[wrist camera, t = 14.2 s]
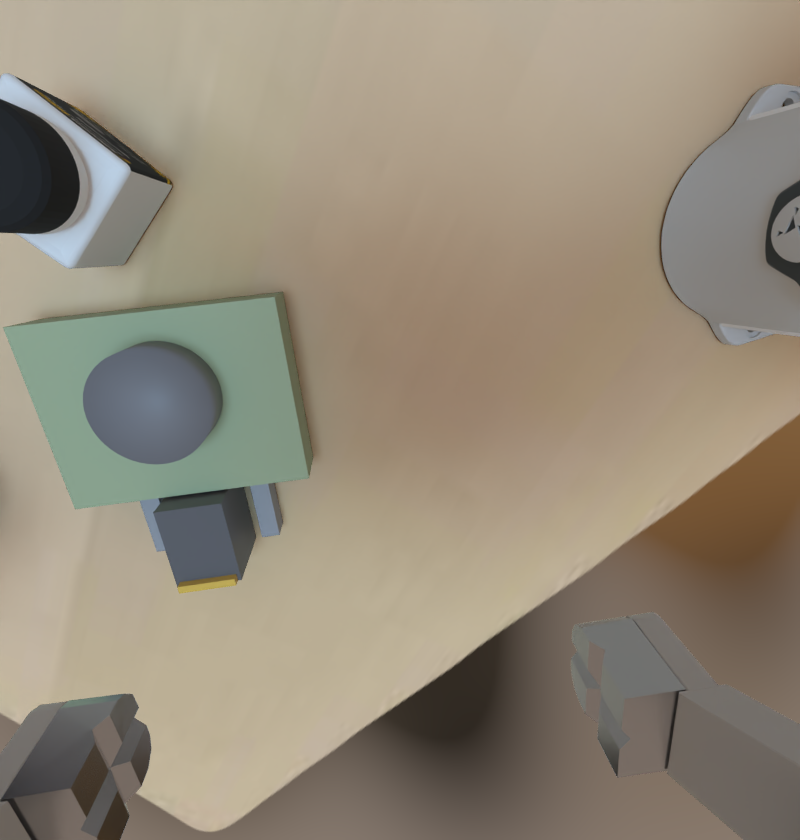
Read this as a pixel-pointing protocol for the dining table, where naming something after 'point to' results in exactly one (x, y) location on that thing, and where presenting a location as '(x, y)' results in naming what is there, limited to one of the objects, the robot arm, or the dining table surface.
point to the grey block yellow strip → (206, 537)
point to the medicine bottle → (71, 181)
